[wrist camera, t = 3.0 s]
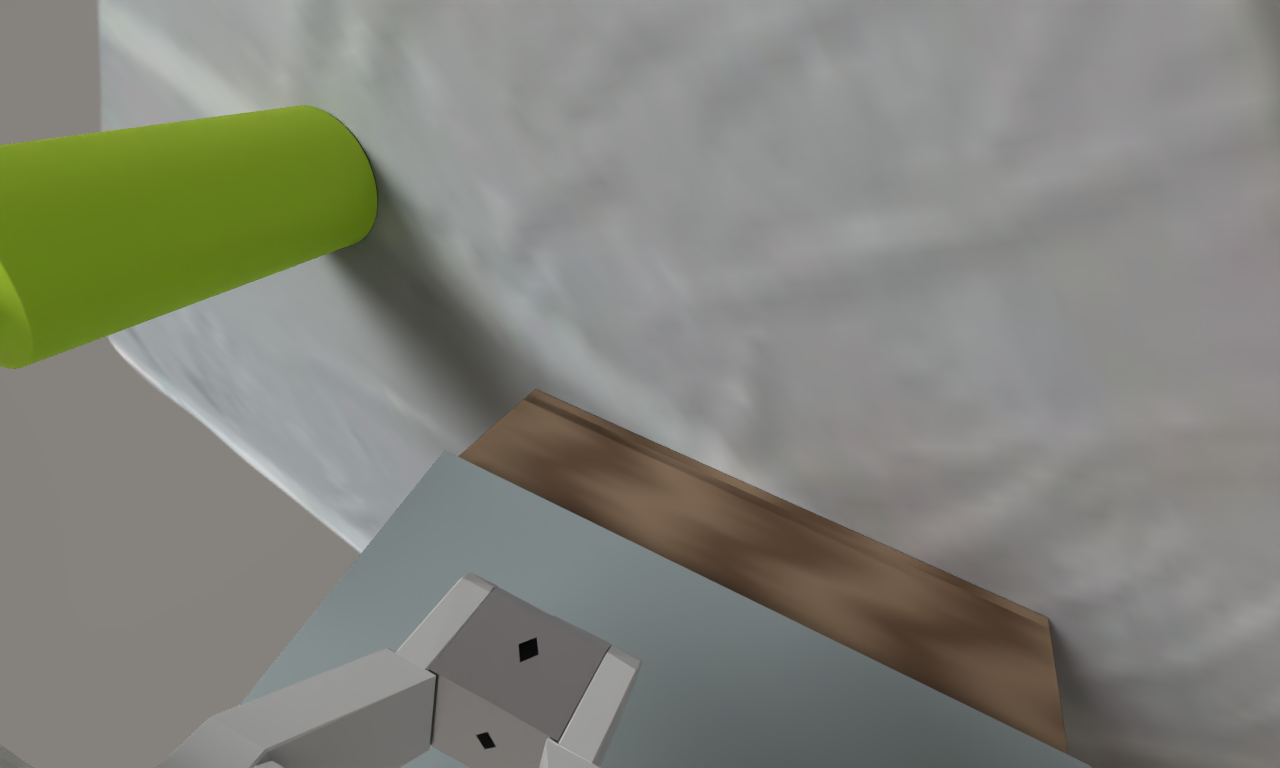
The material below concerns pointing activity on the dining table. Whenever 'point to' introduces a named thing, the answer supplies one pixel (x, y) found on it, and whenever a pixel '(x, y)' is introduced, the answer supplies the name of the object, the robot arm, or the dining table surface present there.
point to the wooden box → (786, 560)
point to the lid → (647, 642)
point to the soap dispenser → (167, 219)
